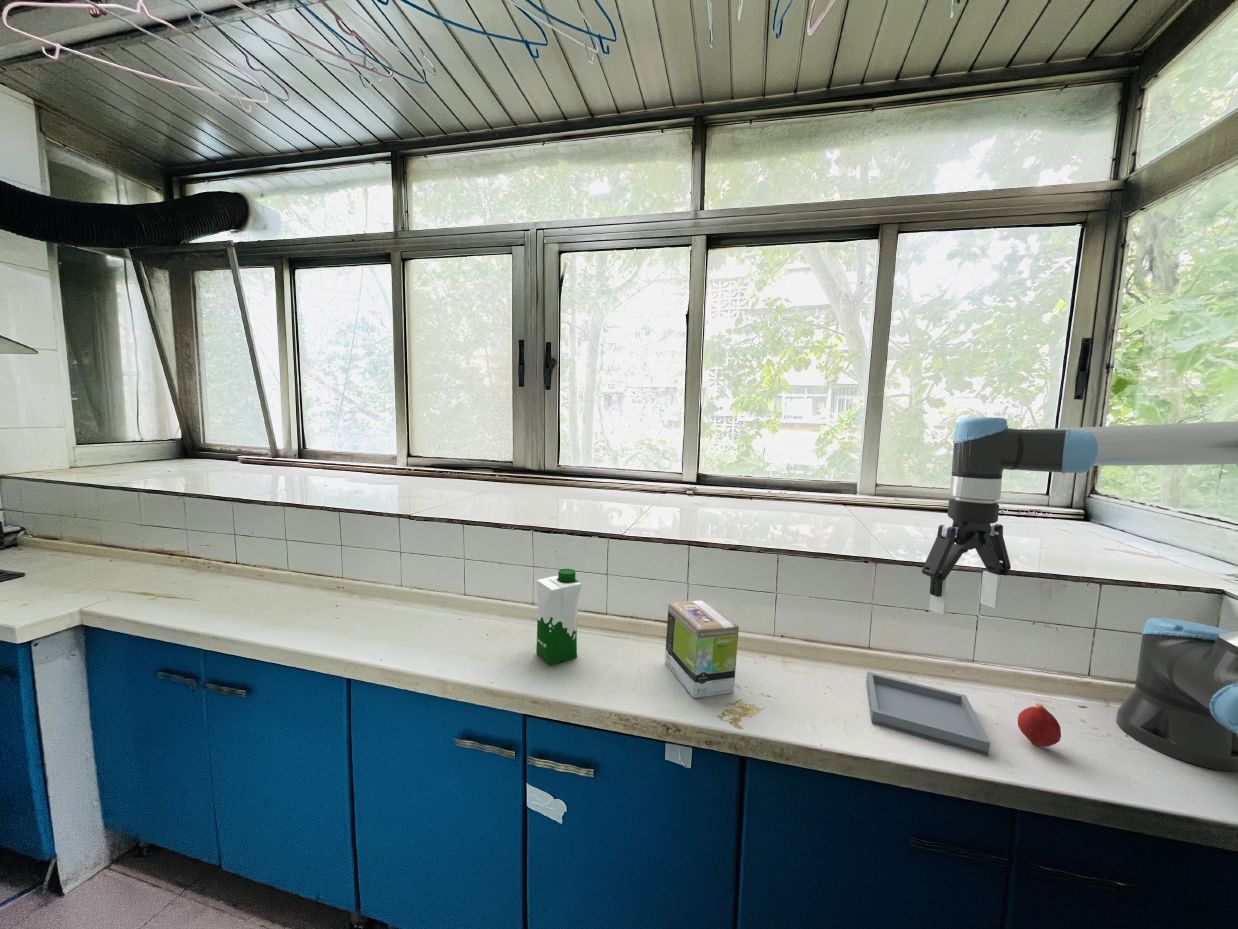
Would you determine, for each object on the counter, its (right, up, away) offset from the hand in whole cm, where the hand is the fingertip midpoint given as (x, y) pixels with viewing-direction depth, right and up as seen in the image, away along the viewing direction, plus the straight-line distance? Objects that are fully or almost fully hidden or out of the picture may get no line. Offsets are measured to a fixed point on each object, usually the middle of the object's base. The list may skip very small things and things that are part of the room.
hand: (963, 609), depth 87 cm
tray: (-6, -22, +3) cm, 23 cm away
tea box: (-49, -20, +14) cm, 54 cm away
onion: (+10, -24, -4) cm, 26 cm away
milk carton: (-81, -18, +20) cm, 85 cm away
